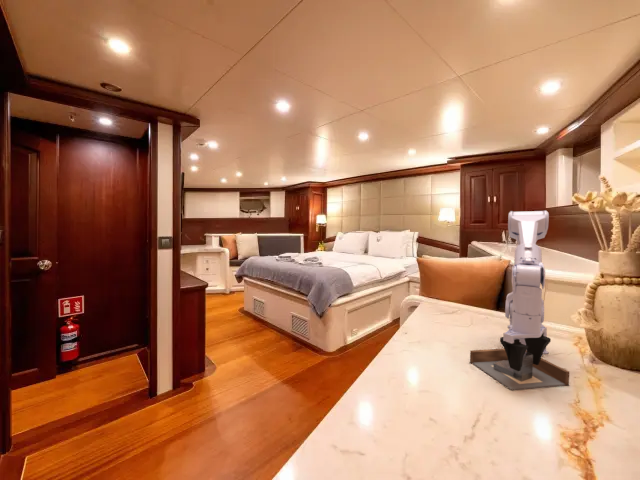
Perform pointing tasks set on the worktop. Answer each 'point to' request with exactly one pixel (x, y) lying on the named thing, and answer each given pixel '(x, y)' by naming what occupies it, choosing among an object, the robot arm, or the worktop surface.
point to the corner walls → (543, 364)
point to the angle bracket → (519, 375)
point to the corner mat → (511, 383)
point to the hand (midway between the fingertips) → (524, 366)
